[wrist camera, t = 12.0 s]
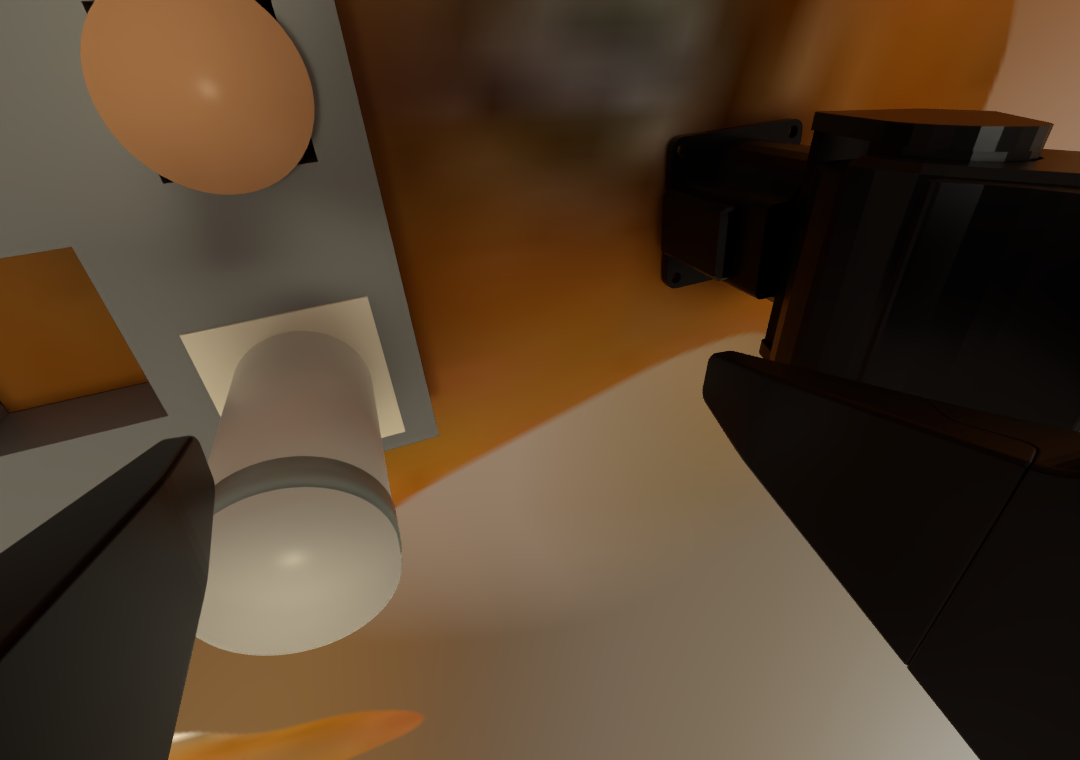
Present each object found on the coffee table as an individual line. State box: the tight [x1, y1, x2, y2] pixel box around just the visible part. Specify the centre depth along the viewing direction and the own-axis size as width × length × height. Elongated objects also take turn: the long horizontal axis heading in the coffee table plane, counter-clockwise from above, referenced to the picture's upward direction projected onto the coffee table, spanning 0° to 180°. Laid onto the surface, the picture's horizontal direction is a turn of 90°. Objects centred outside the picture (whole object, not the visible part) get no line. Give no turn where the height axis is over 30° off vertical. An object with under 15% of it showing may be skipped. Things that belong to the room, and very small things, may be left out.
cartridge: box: [196, 331, 402, 655], centre depth 15 cm, size 4×4×8 cm
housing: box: [0, 0, 439, 553], centre depth 16 cm, size 15×16×3 cm
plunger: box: [80, 0, 315, 195], centre depth 14 cm, size 5×5×4 cm
